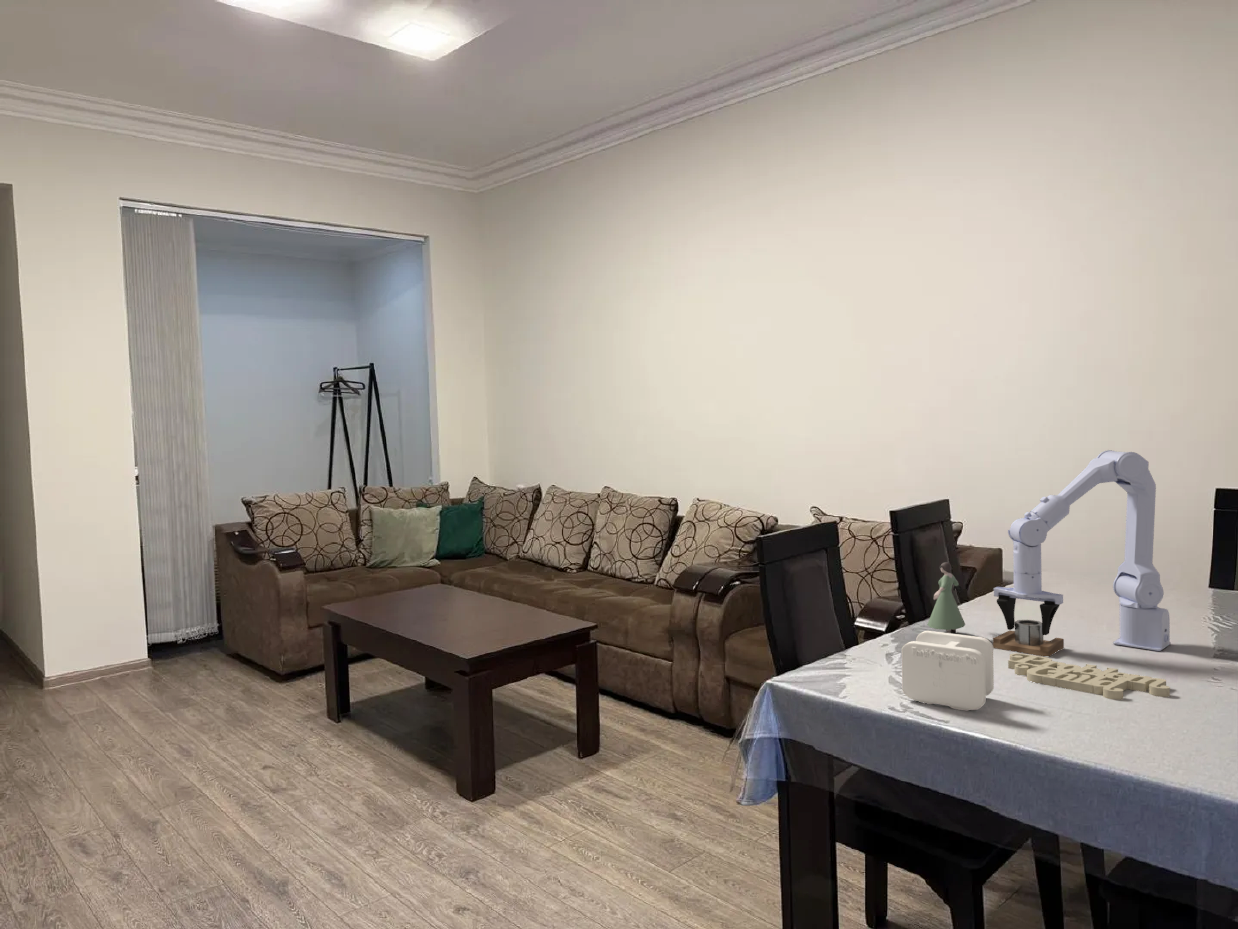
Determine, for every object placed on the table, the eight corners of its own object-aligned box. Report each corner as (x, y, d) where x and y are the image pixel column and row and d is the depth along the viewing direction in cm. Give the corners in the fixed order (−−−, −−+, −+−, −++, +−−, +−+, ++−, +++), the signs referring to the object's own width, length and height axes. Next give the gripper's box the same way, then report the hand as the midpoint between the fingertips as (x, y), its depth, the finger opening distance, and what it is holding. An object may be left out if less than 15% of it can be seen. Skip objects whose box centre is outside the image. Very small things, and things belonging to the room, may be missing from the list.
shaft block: (1063, 648, 195) (1063, 624, 195) (1048, 657, 189) (1047, 632, 189) (1009, 639, 204) (1009, 616, 204) (993, 647, 198) (992, 624, 198)
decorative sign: (986, 668, 178) (1014, 651, 189) (986, 678, 178) (1014, 661, 189) (1157, 699, 156) (1178, 678, 167) (1157, 710, 156) (1178, 689, 167)
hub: (1046, 641, 197) (1046, 622, 197) (1036, 647, 193) (1036, 627, 193) (1021, 637, 201) (1021, 618, 201) (1011, 642, 197) (1011, 623, 197)
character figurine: (945, 626, 219) (943, 555, 218) (978, 630, 213) (977, 557, 212) (917, 639, 207) (915, 564, 206) (951, 645, 202) (950, 568, 201)
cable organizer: (999, 699, 164) (998, 639, 163) (982, 716, 156) (981, 652, 155) (919, 686, 173) (918, 629, 173) (900, 701, 165) (898, 641, 164)
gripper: (987, 571, 198) (988, 630, 199) (1054, 578, 188) (1054, 640, 188) (1000, 566, 203) (1001, 624, 204) (1066, 573, 192) (1067, 633, 193)
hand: (1028, 631), depth 196 cm, fingers open, 7 cm apart
